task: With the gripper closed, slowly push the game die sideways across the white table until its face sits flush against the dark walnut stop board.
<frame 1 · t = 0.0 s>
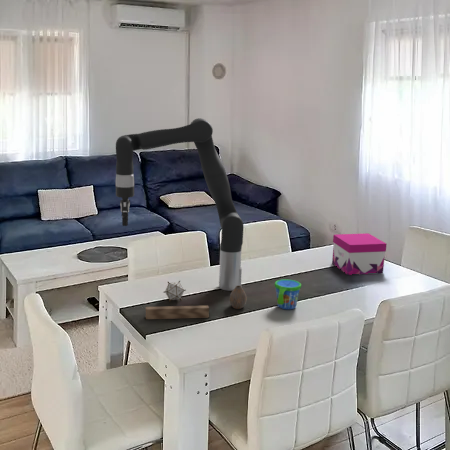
hand: (125, 223, 257), 29 cm above the table, tool pointing down, fingers open, 8 cm apart
stop board: (177, 317, 236), on the table
game die: (174, 300, 254), on the table
decorative box: (356, 268, 303), on the table
snack cup: (286, 307, 251), on the table
vase: (237, 307, 249), on the table
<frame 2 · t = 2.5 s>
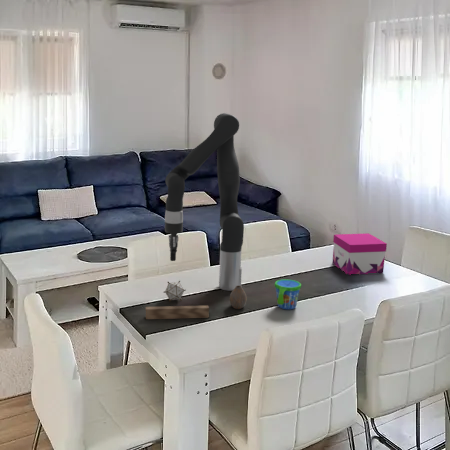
hand: (172, 260, 261), 14 cm above the table, tool pointing down, fingers closed
nothing on the table moved.
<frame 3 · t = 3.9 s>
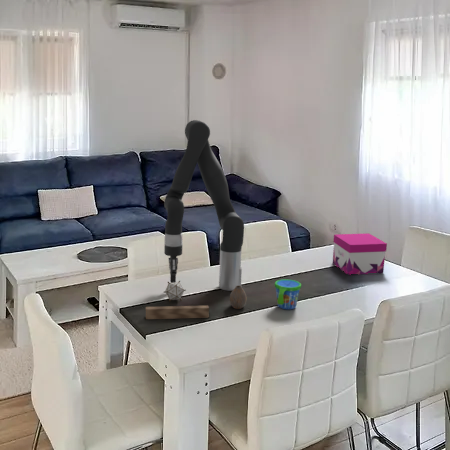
hand: (173, 282, 263), 4 cm above the table, tool pointing down, fingers closed
nothing on the table moved.
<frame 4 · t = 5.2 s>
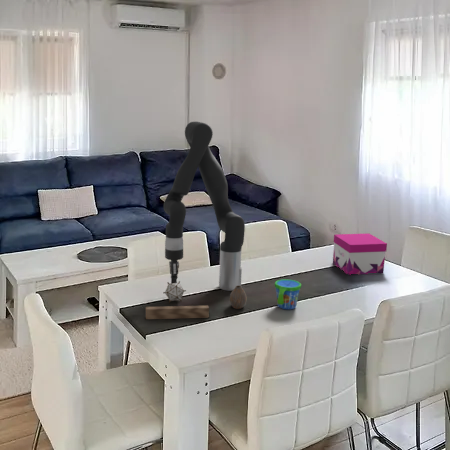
hand: (173, 286, 258), 4 cm above the table, tool pointing down, fingers closed
game die: (174, 301, 253), on the table, touching gripper
everything else where it was.
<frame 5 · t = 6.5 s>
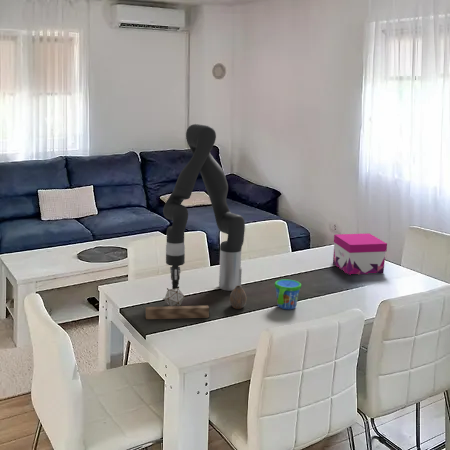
hand: (175, 292, 250), 4 cm above the table, tool pointing down, fingers closed
game die: (174, 307, 246), on the table, touching gripper
everything else where it was.
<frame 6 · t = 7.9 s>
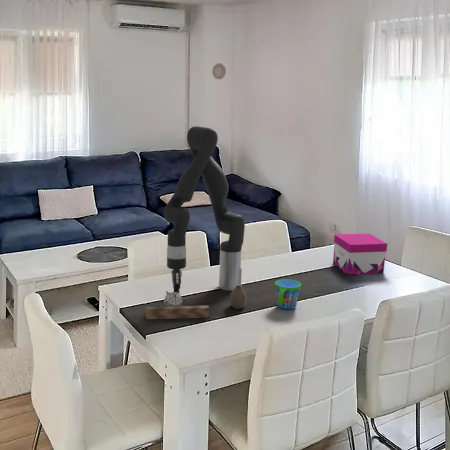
hand: (176, 296, 247), 4 cm above the table, tool pointing down, fingers closed
game die: (173, 311, 243), on the table, touching gripper
everything else where it was.
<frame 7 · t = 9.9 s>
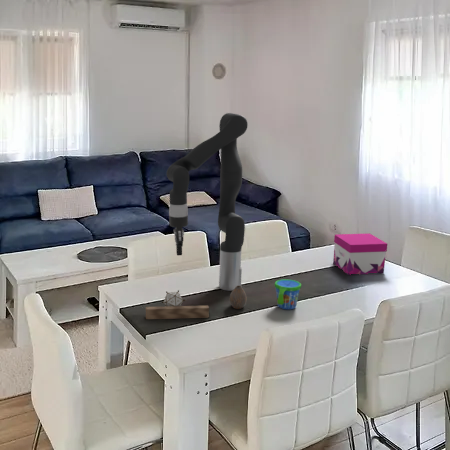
hand: (179, 254, 255), 18 cm above the table, tool pointing down, fingers closed
game die: (173, 311, 243), on the table
everything else where it was.
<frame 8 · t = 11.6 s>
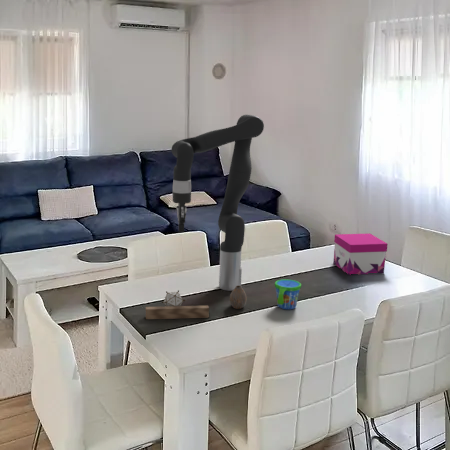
hand: (181, 231, 255), 27 cm above the table, tool pointing down, fingers closed
nothing on the table moved.
at the end: game die 1.2 cm from the target spot on the table beside the stop board, on the table; game die tilted 1°; the gripper is holding nothing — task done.
